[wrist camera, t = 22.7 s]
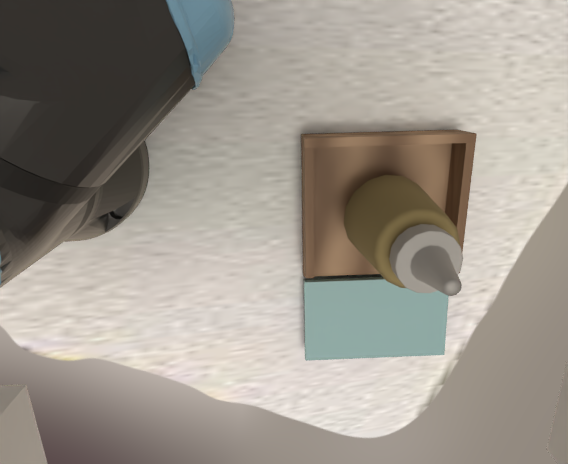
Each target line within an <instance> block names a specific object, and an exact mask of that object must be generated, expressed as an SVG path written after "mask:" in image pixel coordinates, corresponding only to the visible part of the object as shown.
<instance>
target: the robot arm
mask: <svg viewBox="0 0 568 464" xmlns="http://www.w3.org/2000/svg"><path fill="white" fill-rule="evenodd" d="M233 29H234V9H233V5H232V2H231V0H0V288H1V287H2V286H3V285H5V284H6V283H7V282H9V281H10V280H12V279H13V278H14V277H16V276H17V275H18V274H20V273H21V272H23V271H24V270H25V269H27V268H28V267H29V266H31V265H32V264H33V263H35V262H36V261H38V260H39V259H40V258H42V257H43V256H44V255H46V254H47V253H49V252H50V251H51V250H53V249H54V248H55V247H57V246H58V245H60V244H61V243H62V242H68V241H80V240H86V239H91V238H94V237H97V236H100V235H102V234H105V233H107V232H109V231H110V230H112V229H114V228H115V227H117V226H118V225H119V224H120V223H122V222H123V221H124V220H125V219H126V218H127V217H128V216H129V215H130V214H131V213H132V212H133V211H134V210H135V209H136V207H137V206H138V204H139V203H140V201H141V199H142V197H143V195H144V192H145V190H146V186H147V182H148V176H149V160H148V153H147V148H146V145H145V142H144V140H145V139H146V138H147V137H148V136H149V134H150V133H151V132H152V131H153V130H154V129H155V128H156V127H157V126H158V125H159V123H160V122H161V121H162V120H163V119H164V118H165V117H166V116H167V115H168V114H169V113H170V111H171V110H172V109H173V108H174V107H175V106H176V105H177V104H178V103H179V102H180V100H181V99H182V98H183V97H184V96H185V95H186V94H187V93H188V92H189V91H190V89H192V90H195V89H196V88H197V87H199V85H200V82H201V80H202V76H203V75H204V73H205V72H206V71H207V70H208V69H209V67H210V66H211V65H212V64H213V63H214V61H215V60H216V59H217V58H218V57H219V55H220V54H221V53H222V52H223V51H224V49H225V48H226V47H227V45H228V44H229V42H230V40H231V38H232V35H233ZM547 451H548V452H549V453H550V455H551V456H552V457H553V459H554V460H555V461H556V463H557V464H568V362H566V365H565V370H564V374H563V379H562V383H561V388H560V392H559V396H558V401H557V406H556V410H555V415H554V419H553V423H552V427H551V432H550V436H549V441H548V446H547ZM0 464H47V461H46V457H45V453H44V449H43V446H42V442H41V438H40V434H39V431H38V427H37V423H36V419H35V416H34V412H33V408H32V405H31V401H30V397H29V393H28V389H27V386H26V385H2V386H0Z"/></svg>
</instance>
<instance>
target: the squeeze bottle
mask: <svg viewBox="0 0 568 464" xmlns="http://www.w3.org/2000/svg"><path fill="white" fill-rule="evenodd" d="M344 227H345V230H346V233H347V237H348V239H349V240H350V242H351V243H352V244H353V245H354V246H355V247H356V249H357V250H358V251H359V252H360V253H361V254H362V255H363V256H364V257H365V258H366V259H367V261H368V262H369V263H370V264H371V265H372V266H373V267H374V268H375V269H376V270H377V271H378V272H379V273H380V275H381V276H382V277H383V278H384V279H385V280H386V281H387V282H389V283H392V284H394V285H396V286H398V287H400V288H408V289H410V290H412V291H414V292H416V293H432V292H435V291H440V292H442V293H444V294H445V295H448V296H453V295H456V294H457V293H459V291H460V290H461V286H462V285H461V282H460V279H459V277H458V273H459V272H460V270H461V265H462V261H463V256H462V251H461V246H460V240H459V235H458V230H457V227H456V226H455V225H454V224H453V222H452V221H451V220H450V218H449V217H448V216H447V215H446V214H445V212H444V211H443V210H442V209H441V208H440V207H439V206H438V205H437V204H436V203H435V202H434V201H433V200H432V199H431V198H430V196H429V195H428V194H427V193H426V192H425V191H424V190H423V189H422V188H421V187H420V186H419V185H418V184H417V183H415V182H413V181H411V180H409V179H407V178H406V177H404V176H395V175H383V176H380V177H377V178H374V179H371V180H368V181H367V182H366V183H364V184H363V185H362V186H361V187H360V188H358V189H357V190H356V191H355V192H354V193H353V195H352V197H351V198H350V200H349V202H348V204H347V206H346V208H345V216H344Z"/></svg>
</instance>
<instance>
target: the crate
mask: <svg viewBox="0 0 568 464" xmlns="http://www.w3.org/2000/svg"><path fill="white" fill-rule="evenodd" d="M475 142H476V133H471V132H466V131H461V130H430V131H395V132H360V133H325V134H301V151H302V238H303V276H304V277H306V278H314V276H336V275H364V274H380V273H379V272H378V271H377V270H376V269H375V268H374V267H373V266H372V265H371V264H370V263H369V262H368V261H367V259H366V258H365V257H364V256H363V255H362V254H361V253H360V252H359V251H358V250H357V249H356V247H355V246H354V245H353V244H352V243H351V242H350V240H349V239H348V237H347V233H346V230H345V227H344V216H345V208H346V206H347V204H348V202H349V200H350V198H351V197H352V195H353V193H354V192H355V191H356V190H357V189H358V188H360V187H361V186H362V185H363V184H364V183H366V182H367V181H368V180H371V179H374V178H377V177H380V176H383V175H395V176H404V177H406V178H407V179H409V180H411V181H413V182H415V183H417V184H418V185H419V186H420V187H421V188H422V189H423V190H424V191H425V192H426V193H427V194H428V195H429V196H430V198H431V199H432V200H433V201H434V202H435V203H436V204H437V205H438V206H439V207H440V208H441V209H442V210H443V211H444V212H445V214H446V215H447V216H448V217H449V218H450V220H451V221H452V222H453V224H454V225H455V226H456V227H457V230H458V235H459V240H460V246H461V251H463V242H464V234H465V225H466V217H467V209H468V200H469V192H470V184H471V175H472V167H473V158H474V150H475ZM459 273H460V272H459Z"/></svg>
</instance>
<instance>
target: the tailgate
mask: <svg viewBox="0 0 568 464" xmlns="http://www.w3.org/2000/svg"><path fill="white" fill-rule="evenodd" d="M447 309H448V295H445V294H444V293H442V292H440V291H435V292H432V293H416V292H414V291H412V290H410V289H408V288H400V287H398V286H396V285H394V284H392V283H389V282H387V281H386V280H385V279H384V278H383V277H364V278H337V279H309V280H304V324H305V360H328V359H353V358H377V357H402V356H426V355H444V351H445V337H446V323H447Z"/></svg>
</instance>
